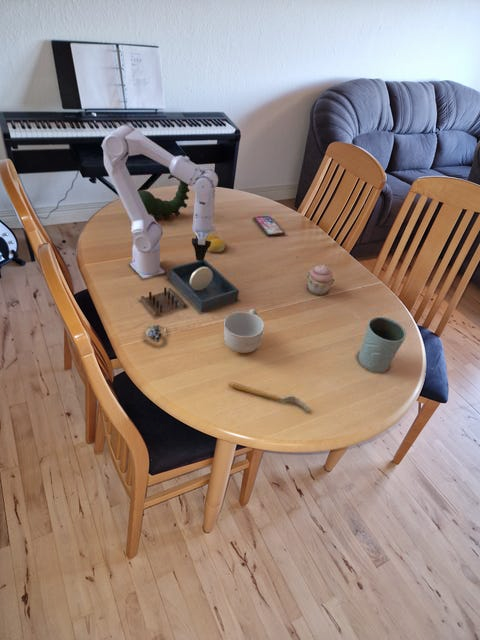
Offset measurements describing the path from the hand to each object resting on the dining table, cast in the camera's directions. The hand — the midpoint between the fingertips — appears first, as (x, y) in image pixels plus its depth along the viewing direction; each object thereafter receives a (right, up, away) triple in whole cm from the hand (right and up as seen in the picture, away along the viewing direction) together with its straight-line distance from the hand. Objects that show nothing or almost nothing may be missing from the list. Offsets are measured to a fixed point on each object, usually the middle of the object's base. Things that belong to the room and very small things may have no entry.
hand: (200, 253), depth 136 cm
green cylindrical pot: (+50, -32, -12) cm, 61 cm away
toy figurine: (-20, +20, +37) cm, 46 cm away
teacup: (+13, -27, -13) cm, 33 cm away
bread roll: (+2, +6, +25) cm, 26 cm away
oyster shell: (-10, -25, -16) cm, 32 cm away
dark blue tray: (0, -11, +3) cm, 12 cm away
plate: (+1, -11, +3) cm, 11 cm away
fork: (+20, -40, -28) cm, 53 cm away
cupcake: (+38, -11, +12) cm, 41 cm away
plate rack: (-11, -16, -5) cm, 20 cm away
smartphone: (+24, +17, +43) cm, 52 cm away
